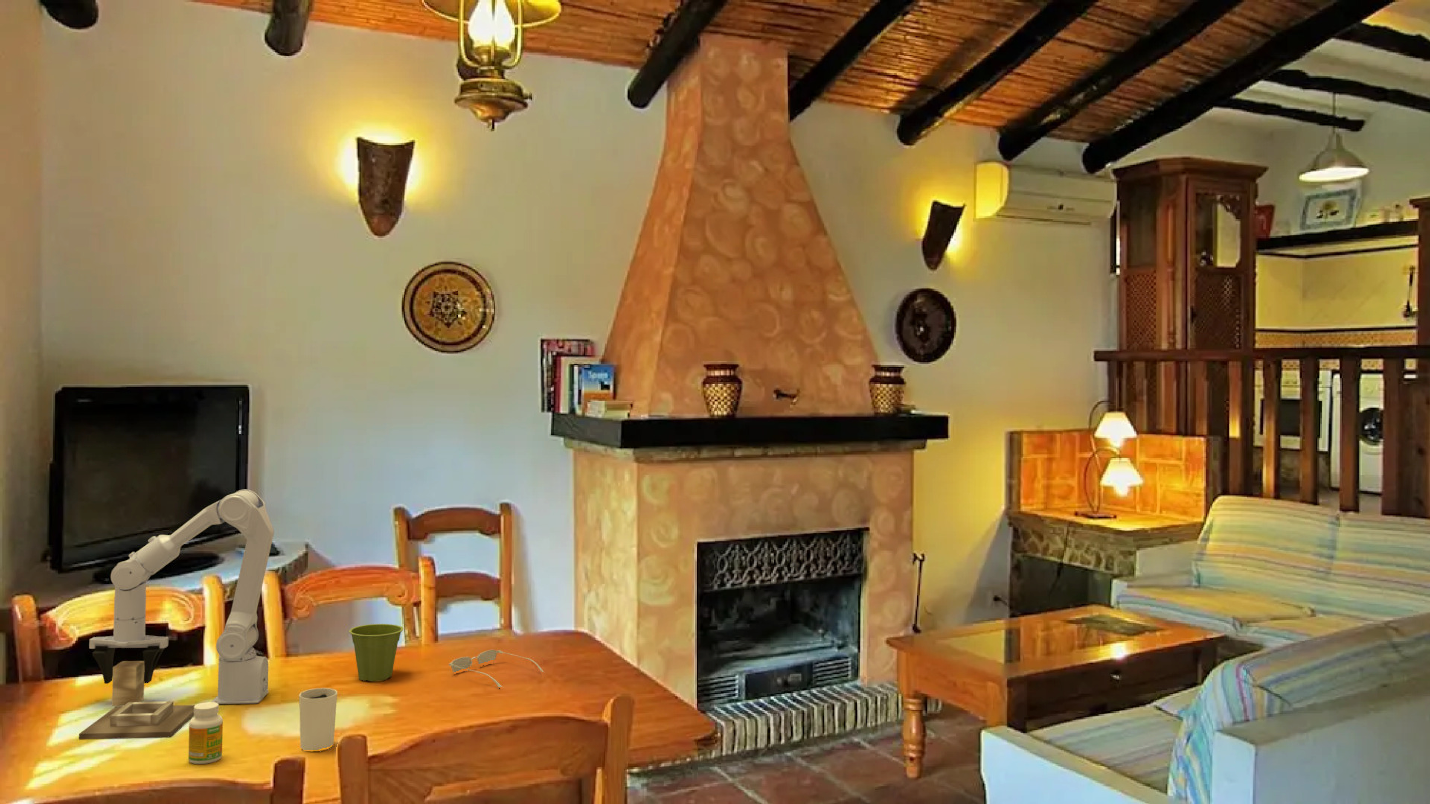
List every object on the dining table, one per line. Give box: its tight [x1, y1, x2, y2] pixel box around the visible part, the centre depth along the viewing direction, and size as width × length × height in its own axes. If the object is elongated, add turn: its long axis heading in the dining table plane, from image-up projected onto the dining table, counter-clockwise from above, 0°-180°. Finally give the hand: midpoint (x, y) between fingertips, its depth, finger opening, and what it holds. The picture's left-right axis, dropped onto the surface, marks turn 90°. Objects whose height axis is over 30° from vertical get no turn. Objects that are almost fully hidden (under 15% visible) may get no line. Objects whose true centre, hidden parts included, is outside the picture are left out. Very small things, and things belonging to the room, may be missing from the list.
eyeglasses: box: [448, 649, 544, 688], centre depth 237 cm, size 15×18×4 cm
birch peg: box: [111, 660, 145, 707], centre depth 210 cm, size 4×4×8 cm
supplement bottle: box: [187, 701, 224, 765], centre depth 181 cm, size 5×5×10 cm
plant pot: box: [348, 623, 404, 682], centre depth 232 cm, size 12×12×11 cm
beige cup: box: [298, 687, 338, 750], centre depth 188 cm, size 7×7×10 cm
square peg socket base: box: [78, 700, 196, 740], centre depth 198 cm, size 16×16×3 cm
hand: (128, 682), depth 210 cm, fingers open, 7 cm apart
